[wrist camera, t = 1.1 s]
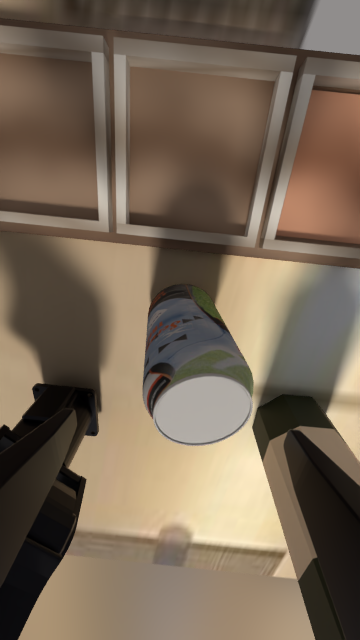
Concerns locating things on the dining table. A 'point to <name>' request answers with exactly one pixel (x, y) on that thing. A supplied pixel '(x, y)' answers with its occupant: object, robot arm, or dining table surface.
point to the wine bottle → (270, 440)
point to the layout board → (180, 143)
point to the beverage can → (193, 370)
